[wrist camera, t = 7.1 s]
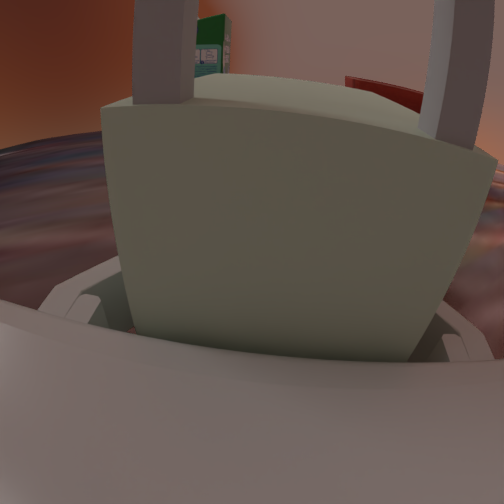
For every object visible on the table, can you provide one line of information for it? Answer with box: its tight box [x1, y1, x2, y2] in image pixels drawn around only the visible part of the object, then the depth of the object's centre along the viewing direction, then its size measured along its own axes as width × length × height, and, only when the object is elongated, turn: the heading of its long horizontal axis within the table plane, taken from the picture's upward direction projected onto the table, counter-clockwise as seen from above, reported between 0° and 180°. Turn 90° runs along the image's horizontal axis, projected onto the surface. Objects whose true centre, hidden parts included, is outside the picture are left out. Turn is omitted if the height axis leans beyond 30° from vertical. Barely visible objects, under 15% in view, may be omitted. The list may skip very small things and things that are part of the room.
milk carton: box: [194, 14, 232, 78], centre depth 46 cm, size 9×9×25 cm
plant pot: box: [345, 76, 424, 114], centre depth 52 cm, size 19×19×17 cm
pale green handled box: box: [100, 0, 498, 362], centre depth 8 cm, size 5×7×15 cm
